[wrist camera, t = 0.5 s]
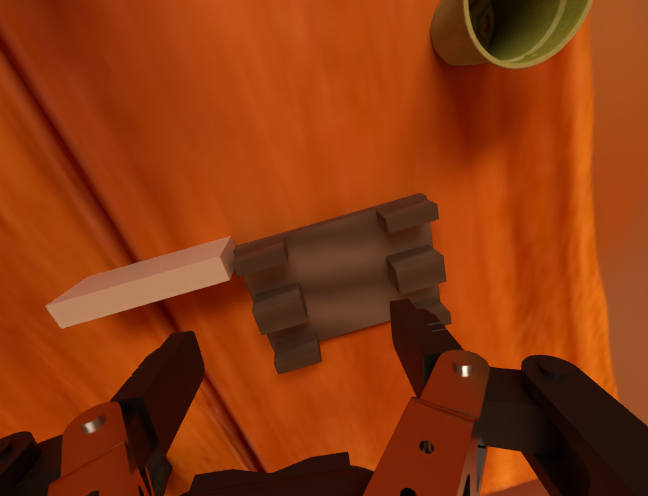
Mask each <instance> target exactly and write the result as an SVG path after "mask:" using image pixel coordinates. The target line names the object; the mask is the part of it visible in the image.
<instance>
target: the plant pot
mask: <svg viewBox="0 0 648 496" xmlns="http://www.w3.org/2000/svg"><path fill="white" fill-rule="evenodd" d="M592 2H593V0H442V1H441V2H440V4H439V6H438V7H437V9H436V11H435V14H434V16H433V20H432V26H431V39H432V44H433V47H434V49H435V51H436V53H437V54H438V55H439V56H440V57H441V58H442V59H443V60H444V61H445V62H446V63H447V64H449V65H453V66H467V65H475V64H484V63H491V64H493V65H495V66H497V67H501V68H505V69H523V68H528V67H531V66H534V65H537V64H539V63H542V62H544V61H545V60H547V59H549V58H550V57H552V56H553V55H555V54H556V53H557V52H559V51H560V50H561V49H562V48H563V47H564V46H565V45H566V44H567V43H568V42H569V41H570V40H571V39H572V38H573V37H574V35H575V34H576V32H577V31H578V30H579V28H580V27H581V25H582V23H583V22H584V20H585V18H586V16H587V14H588V12H589V10H590V7H591V5H592ZM486 15H488V16H489V30H488V32H485V28H486Z"/></svg>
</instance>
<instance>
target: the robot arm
mask: <svg viewBox="0 0 648 496" xmlns="http://www.w3.org/2000/svg"><path fill="white" fill-rule="evenodd" d="M390 317H391V329H392V338H393V343H394V347H395V350H396V352H397V355H398V357H399V359H400V361H401V363H402V366H403V368H404V370H405V372H406V375H407V377H408V379H409V381H410V383H411V386H412V388H413V390H414V392H415V394H416V397H417V398H416V397H412V398H411V399H410V400H409V402H408V404H407V406H406V408H405V410H404V412H403V414H402V416H401V418H400V420H399V422H398V424H397V426H396V428H395V431H394V433H393V435H392V437H391V439H390V441H389V443H388V445H387V447H386V449H385V451H384V453H383V455H382V457H381V459H380V461H379V463H378V465H377V467H376V469H375V472H374V471H371V470H369V469H366V468H362V467H358V466H352V465H350V461H349V455H348V452H342V453H336V454H329V455H323V456H316V457H310V458H308V459H305V460H303V461H300V462H298V463H296V464H293V465H291V466H288V467H286V468H283V469H281V470H278V471H276V472H273V473H260V472H252V471H243V470H235V469H231V470H224V471H217V472H211V473H204V474H198V475H195V477H194V479H193V482H192V485H191V488H190V490H189V491H188V492H186V493H184V494H182V495H180V496H480V490H481V484H482V478H483V473H484V467H485V461H486V455H487V449H488V446H489V447H496V448H503V449H509V450H516V451H521V452H522V454H523V455H524V457H525V458H526V460H527V461H528V463H529V464H530V466H531V467H532V469H533V471H534V472H535V474H536V475H537V477H538V478H539V480H540V481H541V483H542V484H543V486H544V487H545V489H546V490H547V492H548V493H549V495H550V496H648V427H647V425H645V424H644V423H643V422H642V421H641V420H639V419H638V418H637V417H636V416H635V415H633V414H632V413H631V412H630V411H629V410H628V409H626V408H625V407H624V406H623V405H622V404H620V403H619V402H618V401H617V400H616V399H614V398H613V397H612V396H611V395H610V394H609V393H607V392H606V391H605V390H604V389H603V388H601V387H600V386H599V385H598V384H597V383H596V382H594V381H593V380H592V379H591V378H590V377H588V376H587V375H586V374H585V373H584V372H582V371H581V370H580V369H579V368H578V367H576V366H575V365H573V364H571V363H570V362H568V361H565V360H563V359H560V358H557V357H553V356H548V355H533V356H529V357H527V358H525V359H524V360H523V361H522V365H521V370H516V369H503V368H495V367H490V366H489V365H488V363H487V362H486V360H485V359H483V358H482V357H481V356H479V355H477V354H475V353H473V352H470V351H465V350H463V349H462V347H461V346H460V345H459V344H458V342H457V341H456V340H455V339H454V337H453V336H452V335H451V334H450V332H449V331H448V330H446V328H445V326H444V325H443V324H442V323H441V321H440V320H439V319H438V318H437V316H436V315H435V314H433V313H432V312H430V311H428V310H426V309H416V308H415V306H414V305H413V304H412V302H411V301H410V300H409V299H408V298H407V299H401V300H394V301H390ZM203 377H204V362H203V359H202V355H201V352H200V349H199V346H198V342H197V339H196V336H195V334H194V332H193V331H185V332H178V333H172V334H171V335H170V336H169V337H168V338H167V339H166V341H165V342H164V343H163V344H162V346H161V347H160V348H158V349H156V350H155V351H154V352H152V353H151V354H150V355H148V356H147V357H146V358H145V359H144V361H143V362H142V363H141V364H140V365H139V368H137V369H136V370H135V371H134V373H133V374H132V377H129V379H128V380H127V381H126V382H125V383H124V385H123V386H122V387H121V388H120V389H119V391H118V392H117V393H116V394H115V396H114V397H113V398H112V399H111V400H110V402H106V403H102V404H99V405H96V406H94V407H92V408H90V409H88V410H86V411H85V412H83V413H82V414H80V415H79V416H78V417H76V418H75V419H74V420H73V421H72V422H71V423H70V424H69V425H68V426H67V427H66V429H65V431H64V433H63V434H62V435H59V436H57V437H54V438H51V439H48V440H46V441H43V442H40V443H38V444H37V443H36V441H35V439H34V437H33V435H32V434H31V433H30V432H26V431H24V432H18V433H14V434H11V435H9V436H6V437H4V438H2V439H0V496H154V492H153V488H152V485H151V481H150V477H149V473H148V471H147V468H146V466H145V465H146V463H147V462H148V460H149V459H150V458H156V457H163V456H166V454H167V452H168V450H169V448H170V446H171V444H172V442H173V440H174V438H175V435H176V433H177V431H178V429H179V427H180V425H181V423H182V421H183V419H184V417H185V415H186V413H187V411H188V409H189V407H190V405H191V403H192V401H193V399H194V396H195V394H196V392H197V390H198V388H199V386H200V384H201V382H202V380H203Z"/></svg>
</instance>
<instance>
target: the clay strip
mask: <svg viewBox="0 0 648 496" xmlns="http://www.w3.org/2000/svg"><path fill="white" fill-rule="evenodd" d="M234 248H235V244H234V242H233V239H232V237H231V236H229V237H225V238H222V239H218V240H215V241H211V242H208V243H204V244H201V245H197V246H194V247H190V248H187V249H183V250H180V251H176V252H173V253H169V254H166V255H162V256H159V257H155V258H152V259H148V260H145V261H141V262H138V263H134V264H131V265H127V266H124V267H120V268H117V269H113V270H110V271H107V272H103V273H100V274H96V275H93V276H89V277H86V278H85V279H83V280H82V281H80V282H79V283H77V284H76V285H75V286H73V287H72V288H70V289H69V290H67V291H66V292H65V293H63V294H62V295H60V296H59V297H57V298H56V299H55V300H53V301H52V302H50V303H49V304H47V305H46V306H45V307H46V308H47V310H48V311H49V312H50V314H51V315H52V316H53V318H54V319H55V321H56V322H57V323H58V325H59V326H60V328H61V329H62V328H65V327H69V326H72V325H76V324H79V323H83V322H86V321H90V320H93V319H97V318H100V317H104V316H107V315H111V314H114V313H118V312H121V311H124V310H128V309H131V308H135V307H138V306H142V305H145V304H149V303H152V302H156V301H159V300H163V299H166V298H170V297H173V296H177V295H180V294H184V293H187V292H191V291H194V290H197V289H201V288H204V287H208V286H211V285H215V284H218V283H222V282H225V281H229V280H230V279H231V276H232V274H233V271H234V268H233V265H232V262H233V259H234V257H235V255H234V253H233V250H234Z"/></svg>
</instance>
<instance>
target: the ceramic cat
mask: <svg viewBox="0 0 648 496" xmlns="http://www.w3.org/2000/svg"><path fill="white" fill-rule="evenodd" d="M145 466H146V468H147V471H148V473H149V477H150V481H151V485H152V488H153V492H154V496H164V493H165V489H166V484H167V481H168V478H169V476H170V473H171V470H172V466H171V465H170V464H169V463H168V462H167V460H166V458H165V456H163V457H156V458H150V459H149V460H148V462H147V463H146V465H145Z"/></svg>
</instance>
